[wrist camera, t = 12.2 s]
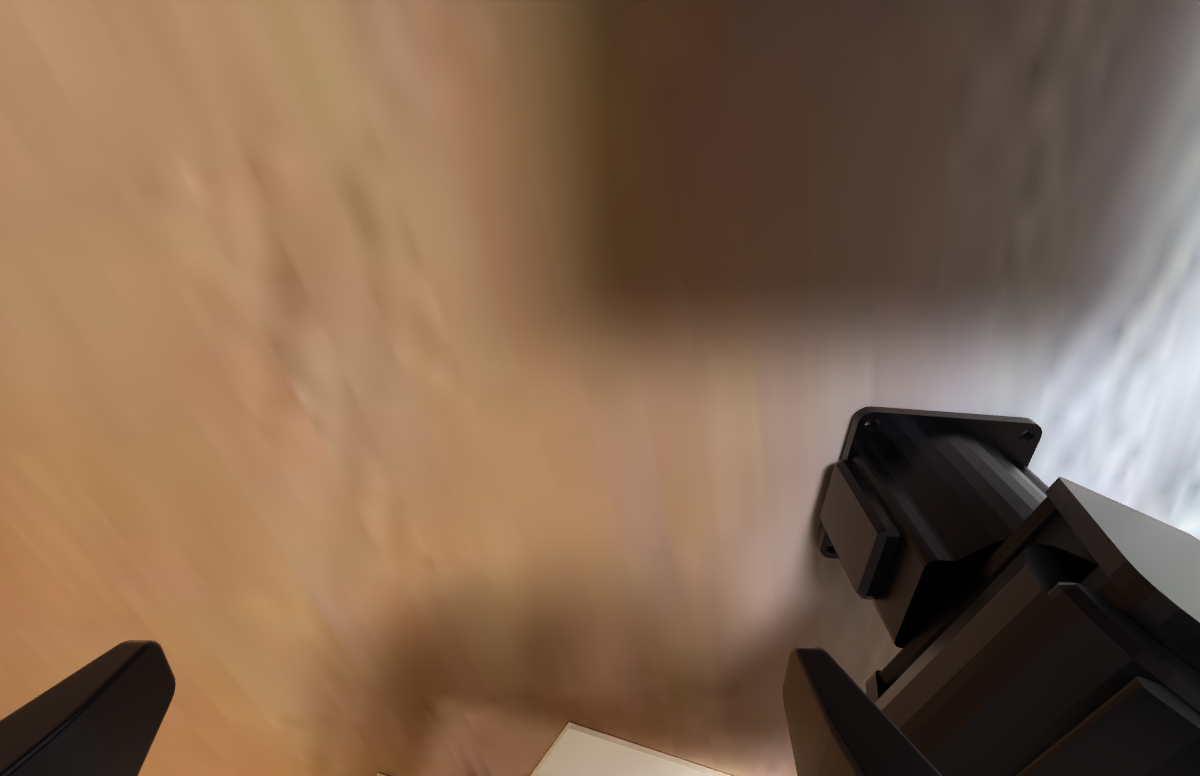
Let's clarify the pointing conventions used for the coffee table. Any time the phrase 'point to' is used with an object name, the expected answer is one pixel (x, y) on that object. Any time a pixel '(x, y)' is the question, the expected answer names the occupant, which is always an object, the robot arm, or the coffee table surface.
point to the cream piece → (609, 758)
